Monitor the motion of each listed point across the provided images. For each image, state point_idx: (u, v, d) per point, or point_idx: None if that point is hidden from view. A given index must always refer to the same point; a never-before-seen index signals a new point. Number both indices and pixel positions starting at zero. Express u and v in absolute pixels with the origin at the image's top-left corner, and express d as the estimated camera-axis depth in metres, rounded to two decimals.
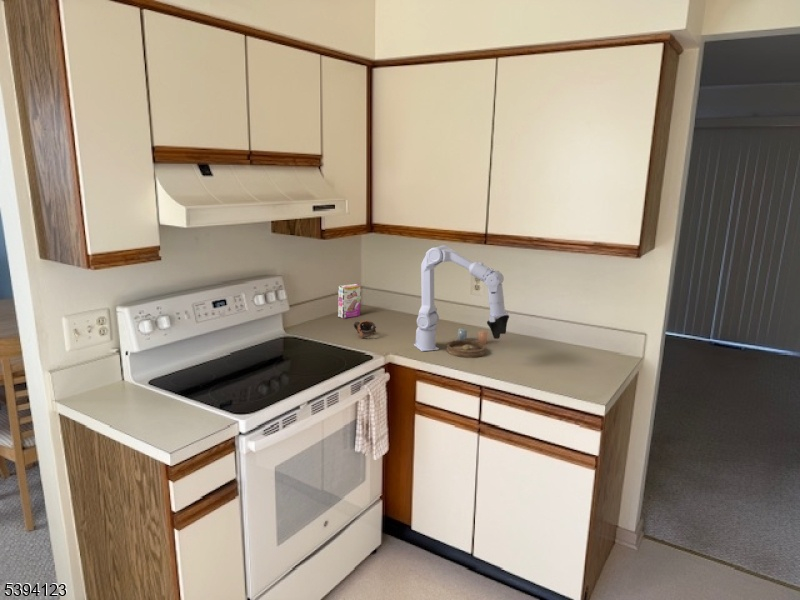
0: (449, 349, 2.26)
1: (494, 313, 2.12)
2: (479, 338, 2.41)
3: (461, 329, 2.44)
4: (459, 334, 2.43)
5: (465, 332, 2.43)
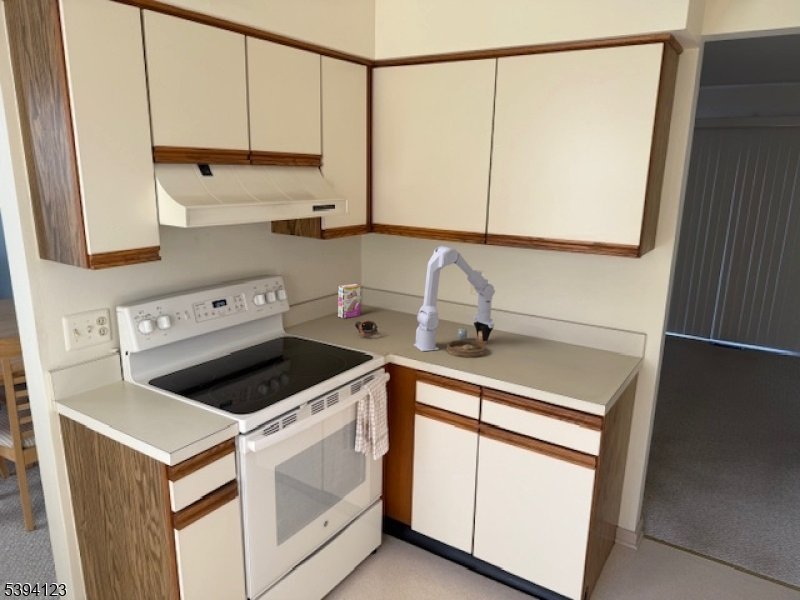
0: (449, 349, 2.26)
1: (486, 319, 2.37)
2: (479, 338, 2.41)
3: (461, 329, 2.44)
4: (459, 334, 2.43)
5: (465, 332, 2.43)
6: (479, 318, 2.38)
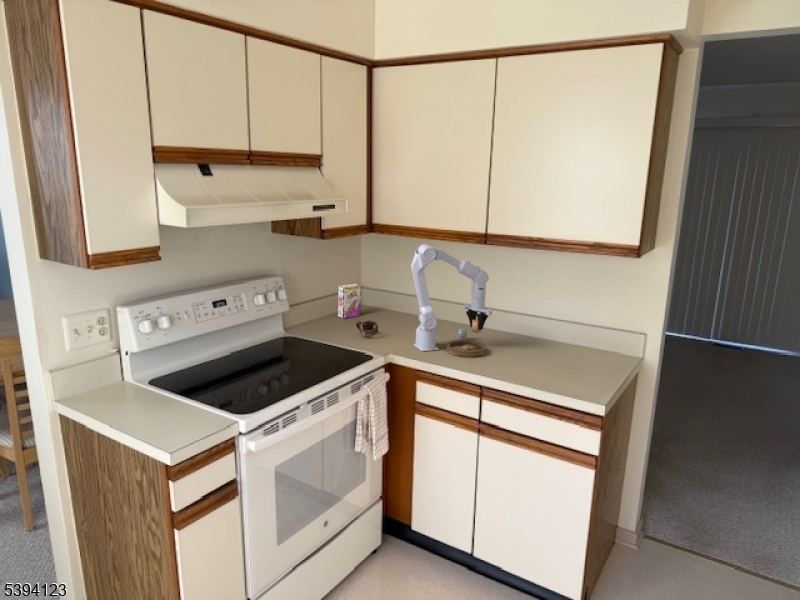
0: (449, 349, 2.26)
1: (482, 307, 2.30)
2: (474, 327, 2.33)
3: (461, 329, 2.44)
4: (459, 334, 2.43)
5: (465, 332, 2.43)
6: (475, 306, 2.30)
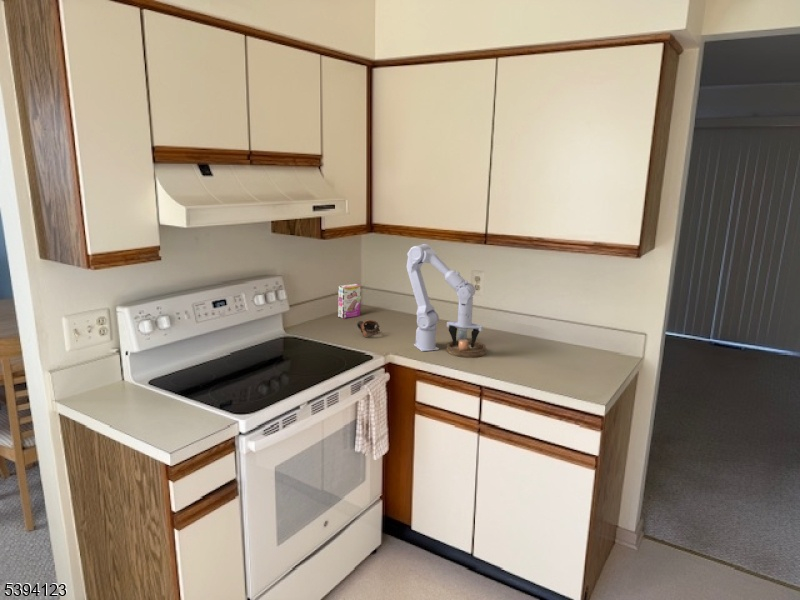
0: (449, 349, 2.26)
1: (471, 323, 2.21)
2: (463, 348, 2.23)
3: (461, 329, 2.44)
4: (459, 334, 2.43)
5: (465, 332, 2.43)
6: (464, 323, 2.20)
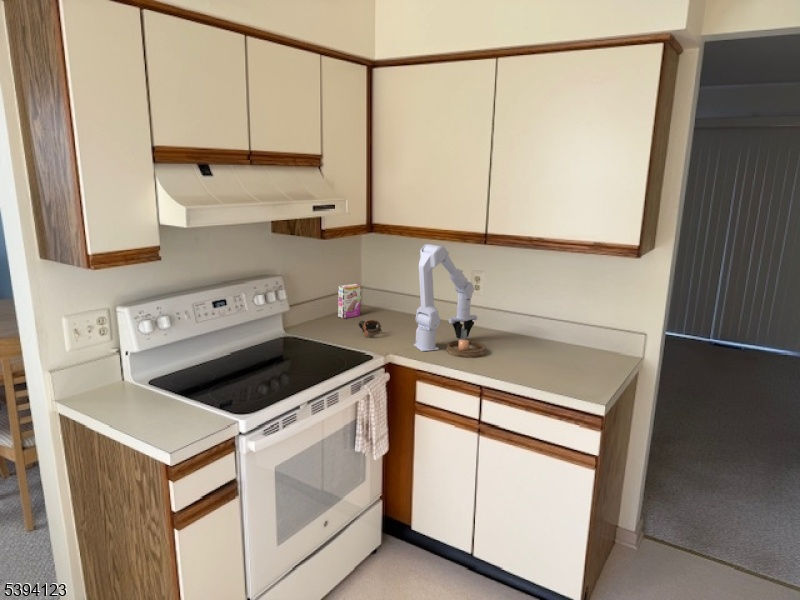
0: (449, 349, 2.26)
1: None
2: (463, 348, 2.23)
3: (461, 329, 2.44)
4: None
5: (465, 332, 2.43)
6: (468, 316, 2.41)
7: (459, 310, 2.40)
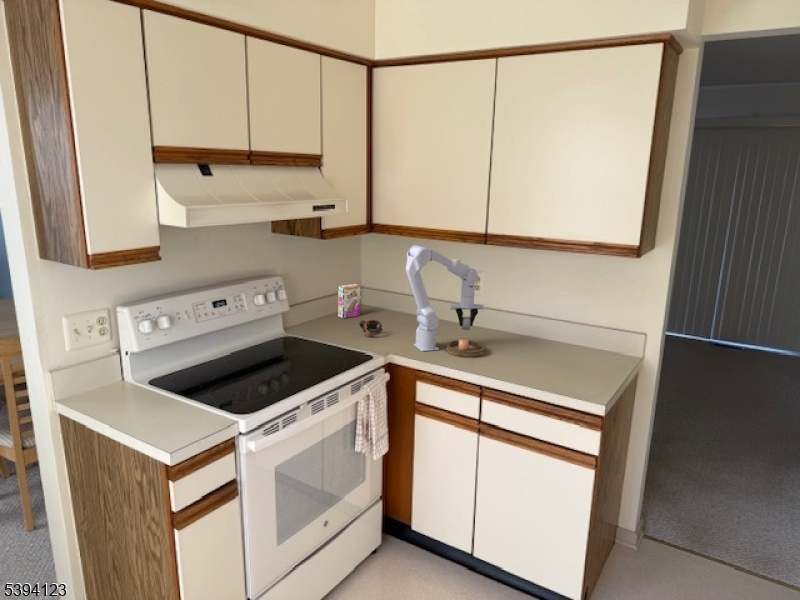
0: (449, 349, 2.26)
1: (473, 304, 2.36)
2: (463, 348, 2.23)
3: (465, 317, 2.37)
4: None
5: (467, 320, 2.35)
6: (470, 304, 2.33)
7: (461, 297, 2.34)
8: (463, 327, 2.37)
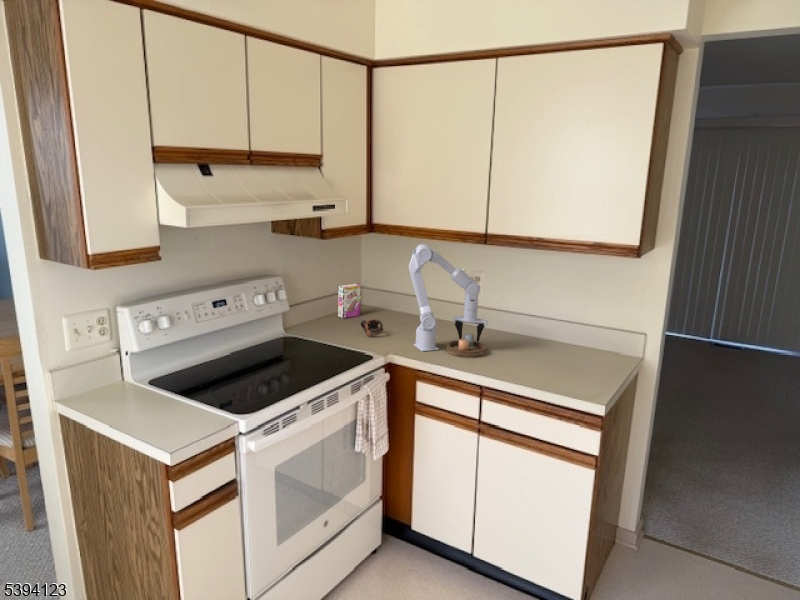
0: (449, 349, 2.26)
1: (476, 318, 2.29)
2: (463, 348, 2.23)
3: (468, 334, 2.33)
4: (464, 338, 2.33)
5: (468, 338, 2.31)
6: (470, 318, 2.28)
7: (464, 310, 2.30)
8: None
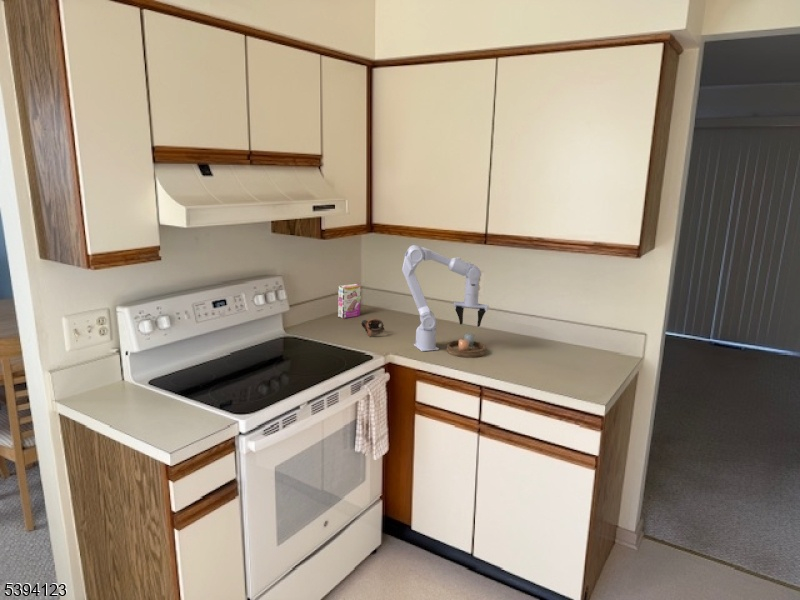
0: (449, 349, 2.26)
1: (477, 303, 2.28)
2: (463, 348, 2.23)
3: (468, 334, 2.33)
4: (464, 338, 2.33)
5: (468, 338, 2.31)
6: (471, 303, 2.26)
7: None
8: None
